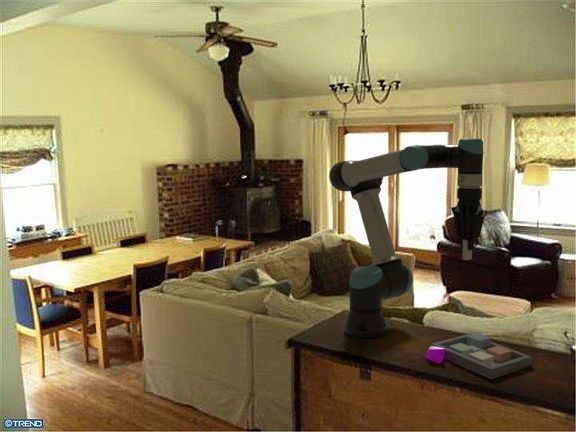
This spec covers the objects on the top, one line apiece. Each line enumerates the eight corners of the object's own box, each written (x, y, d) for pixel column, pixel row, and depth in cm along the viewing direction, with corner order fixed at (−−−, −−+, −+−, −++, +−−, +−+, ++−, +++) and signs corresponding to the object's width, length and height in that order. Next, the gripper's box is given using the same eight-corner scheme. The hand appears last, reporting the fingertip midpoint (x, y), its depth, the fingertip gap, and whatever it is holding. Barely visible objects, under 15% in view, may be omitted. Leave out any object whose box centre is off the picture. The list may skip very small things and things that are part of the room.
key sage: (448, 353, 174) (449, 345, 174) (460, 350, 177) (460, 342, 176) (461, 358, 170) (461, 351, 169) (473, 355, 172) (473, 347, 172)
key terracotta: (486, 356, 171) (486, 349, 171) (497, 353, 174) (497, 345, 173) (500, 362, 167) (500, 354, 166) (511, 358, 169) (511, 351, 169)
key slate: (466, 343, 178) (466, 335, 177) (477, 340, 180) (477, 333, 180) (479, 348, 173) (479, 340, 173) (490, 345, 176) (490, 337, 176)
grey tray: (431, 352, 178) (431, 343, 177) (469, 341, 187) (470, 333, 186) (491, 379, 157) (491, 369, 157) (531, 366, 166) (531, 356, 165)
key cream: (468, 361, 167) (468, 354, 167) (480, 358, 170) (480, 350, 169) (482, 367, 163) (482, 359, 162) (493, 364, 165) (494, 356, 165)
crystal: (441, 357, 174) (441, 343, 173) (446, 363, 169) (446, 349, 168) (425, 357, 174) (425, 343, 173) (429, 364, 168) (430, 350, 168)
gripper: (445, 186, 177) (443, 257, 181) (477, 189, 166) (474, 264, 169) (462, 185, 181) (459, 254, 184) (494, 187, 170) (491, 261, 173)
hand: (467, 259), depth 177 cm, fingers closed
